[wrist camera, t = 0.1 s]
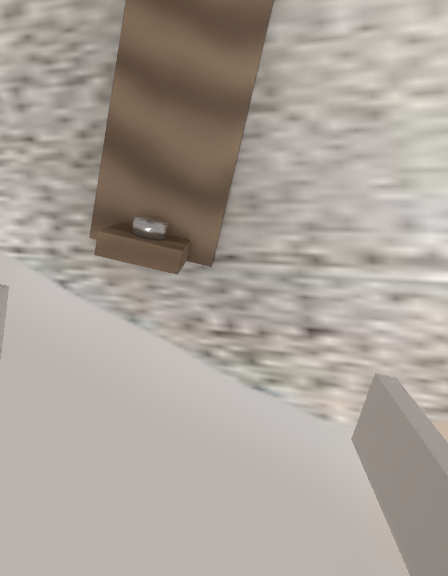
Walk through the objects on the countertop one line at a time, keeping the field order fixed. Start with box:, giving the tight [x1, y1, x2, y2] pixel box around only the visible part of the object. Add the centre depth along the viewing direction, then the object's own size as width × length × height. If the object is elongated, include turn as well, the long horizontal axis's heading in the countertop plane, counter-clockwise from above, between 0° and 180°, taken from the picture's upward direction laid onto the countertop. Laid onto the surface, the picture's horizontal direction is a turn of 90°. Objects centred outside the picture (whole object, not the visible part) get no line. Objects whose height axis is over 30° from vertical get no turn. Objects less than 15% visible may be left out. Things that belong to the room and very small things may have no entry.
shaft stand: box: [89, 0, 274, 274], centre depth 35 cm, size 30×12×8 cm, turn 167°
